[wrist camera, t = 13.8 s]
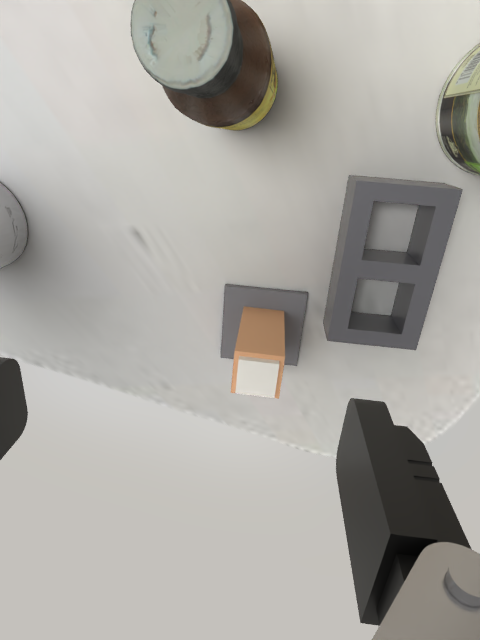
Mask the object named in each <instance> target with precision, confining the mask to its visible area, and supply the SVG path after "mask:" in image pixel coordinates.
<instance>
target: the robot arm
mask: <svg viewBox="0 0 480 640" xmlns="http://www.w3.org/2000/svg"><path fill="white" fill-rule="evenodd" d="M27 236H28V233H27V223H26V219H25V215H24V213H23V210H22V208H21V206H20V204H19V203H18V201H17V200H16V198H15V197H14V195H13V194H12V193H11V192H10V191H9V190H8V189H7V188H6V187H5V186H4V185H2V184H1V183H0V268H2V267H4V266H6V265H8V264H10V263H12V262H13V261H15V260H16V259H17V258H18V257H19V256H20V255H21V253H22V252H23V250H24V248H25V246H26V242H27ZM27 413H28V412H27V405H26V400H25V394H24V389H23V382H22V377H21V372H20V366H19V364H18V362H17V361H16V360H14V359H10V358H1V357H0V460H1V459H2V457H3V456H4V455H5V454H6V453H7V451H8V450H9V449H10V448H11V446H13V444H14V443H15V442H16V441H17V440H18V438H19V437H20V436H21V434H22V433H23V430H24V428H25V426H26V422H27V415H28V414H27ZM336 473H337V481H338V486H339V493H340V499H341V506H342V512H343V518H344V524H345V530H346V535H347V542H348V548H349V555H350V560H351V567H352V573H353V579H354V585H355V592H356V598H357V603H358V610H359V616H360V622H361V623H365V624H372V625H379V628H378V630H377V632H376V633H375V635H374V637H373V639H372V640H480V554H479V553H477V552H475V551H473V550H472V549H471V547H470V545H469V543H468V541H467V539H466V536H465V534H464V532H463V530H462V527H461V525H460V523H459V521H458V519H457V517H456V514H455V512H454V510H453V508H452V505H451V503H450V501H449V499H448V497H447V494H446V492H445V490H444V488H443V486H442V483H439V477H438V475H437V472H436V470H435V468H434V467H433V466H432V462H431V459H430V457H429V455H428V453H427V450H426V448H425V446H424V444H423V443H422V442H421V441H420V440H419V439H418V438H417V437H416V435H415V434H414V433H413V432H412V431H411V430H410V429H409V428H408V427H405V426H396V425H394V424H393V421H392V419H391V416H390V413H389V411H388V408H387V406H386V404H385V403H384V402H381V401H372V400H363V399H354V398H351V399H350V401H349V403H348V406H347V410H346V415H345V419H344V423H343V428H342V432H341V437H340V441H339V445H338V450H337V459H336Z"/></svg>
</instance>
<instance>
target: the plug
mask: <svg viewBox="0 0 480 640" xmlns="http://www.w3.org/2000/svg"><path fill="white" fill-rule="evenodd" d="M284 361H285V327H284V311H280V310H271V309H262V308H254V307H245V306H244V307H243V312H242V317H241V322H240V327H239V332H238V337H237V341H236V346H235V352H234V363H233V374H232V385H231V393H236V394H244V395H252V396H260V397H268V398H279V394H280V387H281V381H282V374H283V367H284Z"/></svg>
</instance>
